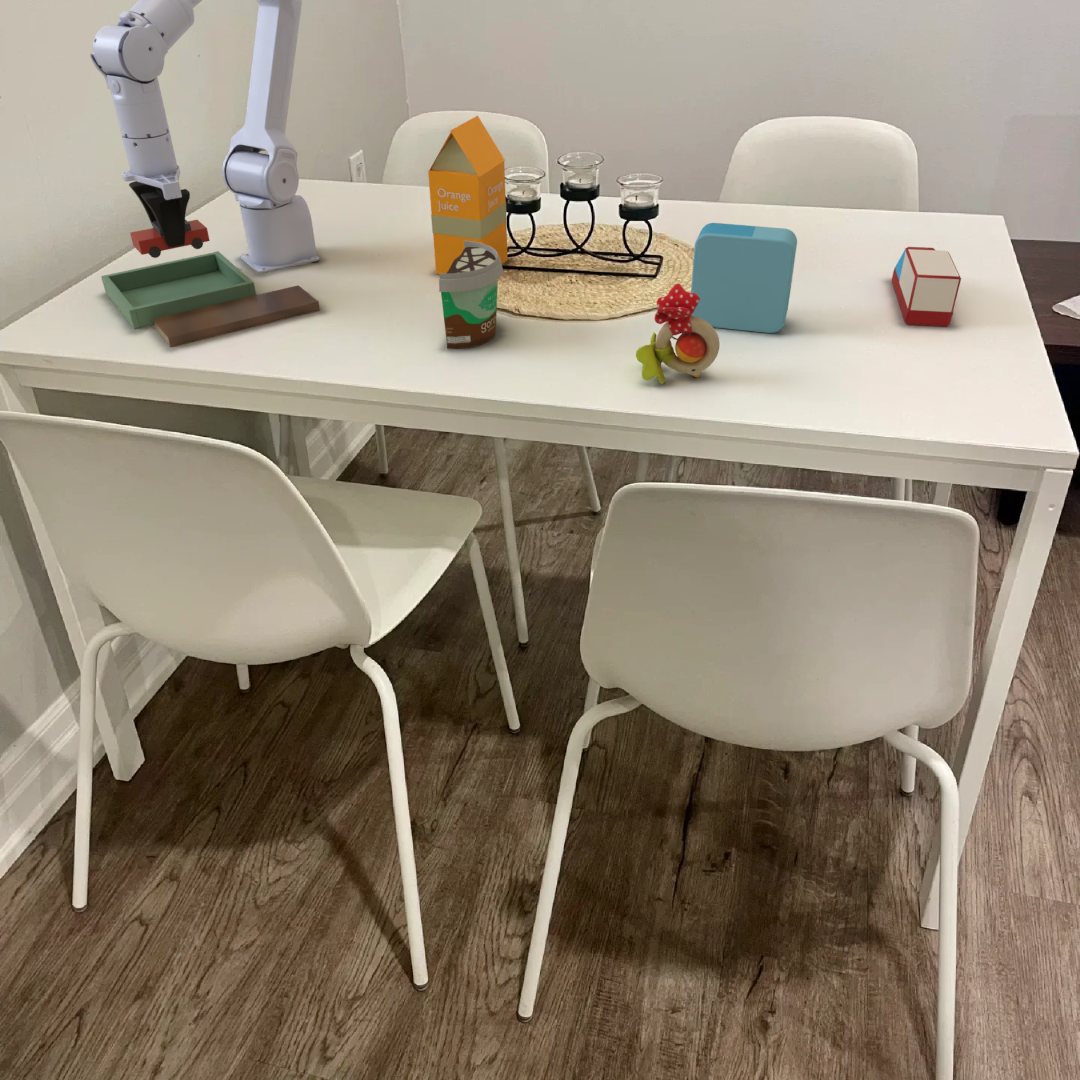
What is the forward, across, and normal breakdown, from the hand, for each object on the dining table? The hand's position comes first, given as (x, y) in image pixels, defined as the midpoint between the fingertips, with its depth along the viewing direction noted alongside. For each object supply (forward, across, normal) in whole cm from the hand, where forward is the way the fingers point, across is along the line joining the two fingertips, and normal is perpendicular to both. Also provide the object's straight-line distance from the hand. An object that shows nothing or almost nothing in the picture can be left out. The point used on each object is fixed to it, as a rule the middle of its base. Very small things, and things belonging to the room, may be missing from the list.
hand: (171, 240), depth 133 cm
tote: (+8, -1, 0) cm, 8 cm away
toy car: (+1, 0, 0) cm, 1 cm away
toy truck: (+9, +58, +81) cm, 100 cm away
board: (+8, +11, +4) cm, 14 cm away
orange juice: (+9, +12, +39) cm, 41 cm away
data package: (+9, +49, +57) cm, 76 cm away
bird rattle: (+9, +56, +41) cm, 70 cm away
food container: (+9, +33, +28) cm, 44 cm away
